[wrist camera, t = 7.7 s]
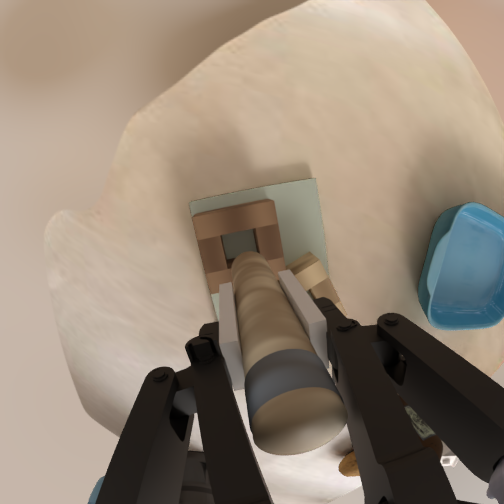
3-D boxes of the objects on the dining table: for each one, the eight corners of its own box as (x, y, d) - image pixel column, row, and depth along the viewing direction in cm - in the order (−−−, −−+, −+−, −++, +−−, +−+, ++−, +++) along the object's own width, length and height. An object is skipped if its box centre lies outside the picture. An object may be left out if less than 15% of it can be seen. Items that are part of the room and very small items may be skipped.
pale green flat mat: (224, 339, 39) (224, 343, 37) (189, 201, 33) (188, 202, 32) (329, 314, 39) (332, 317, 38) (312, 178, 34) (315, 178, 33)
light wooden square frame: (282, 335, 38) (288, 350, 34) (250, 287, 36) (254, 300, 32) (336, 302, 38) (347, 315, 34) (309, 251, 35) (319, 259, 32)
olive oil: (386, 426, 50) (430, 496, 26) (359, 423, 48) (404, 506, 24) (414, 395, 49) (469, 463, 25) (390, 389, 46) (450, 471, 22)
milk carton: (435, 408, 53) (469, 449, 34) (432, 420, 54) (463, 459, 36) (415, 421, 52) (448, 466, 34) (413, 433, 54) (442, 475, 36)
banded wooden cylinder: (235, 290, 23) (260, 462, 7) (227, 255, 22) (241, 412, 6) (271, 282, 23) (347, 440, 7) (265, 247, 22) (351, 384, 7)
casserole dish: (387, 314, 41) (410, 334, 34) (420, 183, 36) (451, 186, 29) (487, 316, 47) (505, 327, 40) (512, 229, 42) (532, 236, 35)
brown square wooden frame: (211, 282, 35) (210, 294, 31) (195, 213, 33) (191, 217, 29) (280, 267, 35) (287, 277, 32) (268, 198, 33) (274, 200, 29)
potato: (344, 442, 50) (355, 466, 42) (386, 437, 52) (398, 457, 45) (326, 463, 52) (334, 486, 44) (367, 458, 54) (377, 477, 47)
